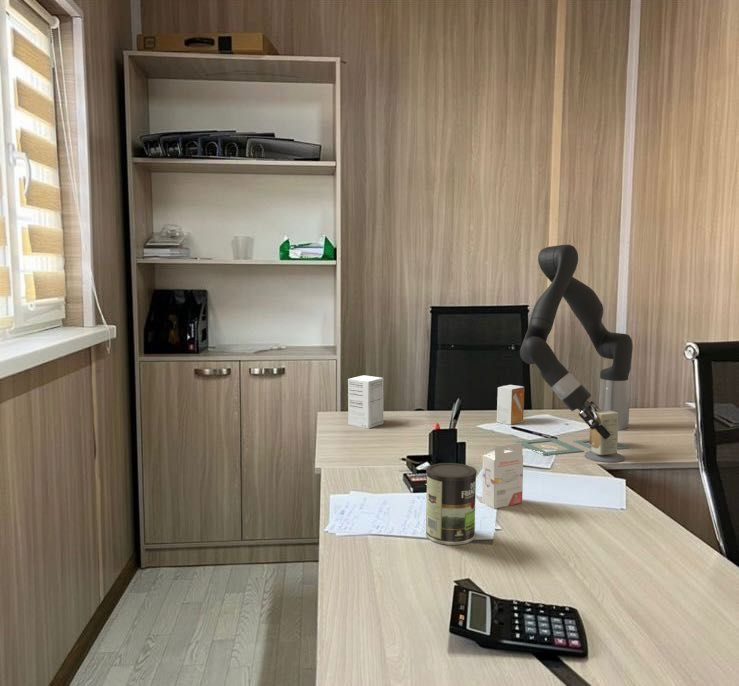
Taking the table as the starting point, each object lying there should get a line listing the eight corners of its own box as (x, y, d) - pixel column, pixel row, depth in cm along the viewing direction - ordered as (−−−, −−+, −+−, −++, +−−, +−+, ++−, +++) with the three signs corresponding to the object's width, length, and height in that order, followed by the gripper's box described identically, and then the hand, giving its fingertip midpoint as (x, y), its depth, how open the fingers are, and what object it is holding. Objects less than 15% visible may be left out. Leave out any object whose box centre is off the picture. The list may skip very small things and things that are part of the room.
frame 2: (604, 439, 219) (604, 437, 219) (629, 448, 208) (629, 447, 208) (573, 442, 215) (573, 440, 215) (596, 451, 204) (596, 450, 204)
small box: (510, 425, 238) (512, 389, 236) (496, 422, 242) (497, 386, 241) (523, 421, 243) (524, 386, 242) (509, 419, 248) (510, 384, 247)
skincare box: (607, 449, 201) (609, 409, 199) (617, 453, 197) (619, 412, 195) (589, 451, 198) (591, 410, 197) (599, 455, 194) (601, 413, 193)
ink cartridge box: (509, 497, 163) (510, 437, 162) (522, 503, 159) (524, 442, 157) (480, 502, 159) (482, 442, 158) (493, 509, 155) (495, 447, 153)
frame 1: (553, 439, 219) (553, 437, 219) (583, 451, 204) (583, 450, 204) (515, 442, 214) (515, 441, 214) (543, 455, 199) (543, 454, 199)
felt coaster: (607, 451, 205) (607, 449, 204) (632, 461, 194) (632, 458, 194) (576, 454, 201) (576, 452, 201) (600, 464, 191) (600, 462, 191)
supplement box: (363, 420, 245) (363, 374, 243) (384, 423, 240) (384, 377, 238) (347, 425, 237) (347, 378, 235) (368, 429, 232) (368, 380, 230)
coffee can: (482, 532, 141) (484, 467, 140) (462, 549, 133) (464, 480, 131) (438, 522, 147) (439, 459, 145) (416, 538, 138) (417, 471, 136)
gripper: (576, 387, 192) (617, 431, 188) (584, 380, 205) (622, 421, 201) (556, 403, 195) (596, 447, 191) (565, 395, 208) (603, 436, 204)
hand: (609, 434), depth 196 cm, fingers closed on skincare box, 7 cm apart
